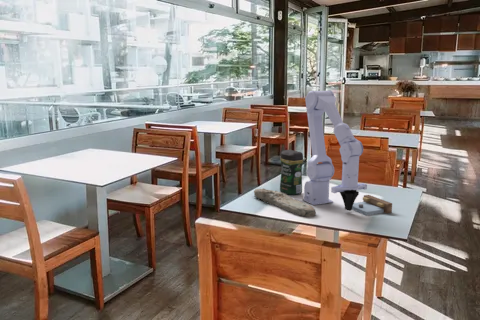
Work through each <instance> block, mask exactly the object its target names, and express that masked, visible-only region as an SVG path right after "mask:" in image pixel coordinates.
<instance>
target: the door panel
mask: <svg viewBox="0 0 480 320" xmlns="http://www.w3.org/2000/svg"><path fill="white" fill-rule="evenodd" d="M352 210H353V211H355V212H357V213H360V214H361V215H365V216H370V215H371V216H373V215H378V214H385V213H384V209H382V208H379V207H376V206H374V205H371V204H369V203H366V202H363V201H360V202H354V204H353V206H352Z"/></svg>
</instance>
